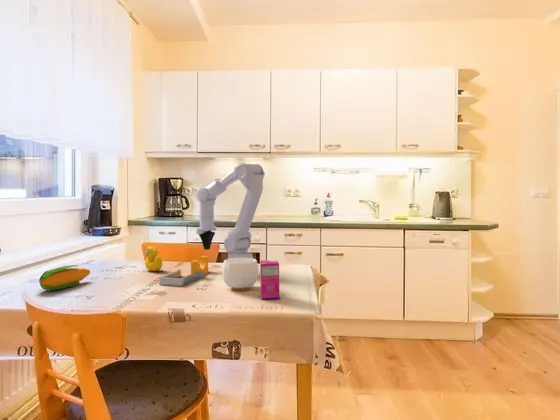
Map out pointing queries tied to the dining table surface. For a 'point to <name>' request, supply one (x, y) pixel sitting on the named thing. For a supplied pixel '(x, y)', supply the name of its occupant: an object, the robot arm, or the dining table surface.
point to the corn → (62, 277)
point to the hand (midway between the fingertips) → (206, 249)
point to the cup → (240, 272)
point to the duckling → (153, 259)
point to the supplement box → (269, 279)
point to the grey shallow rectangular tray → (175, 279)
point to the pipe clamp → (200, 265)
